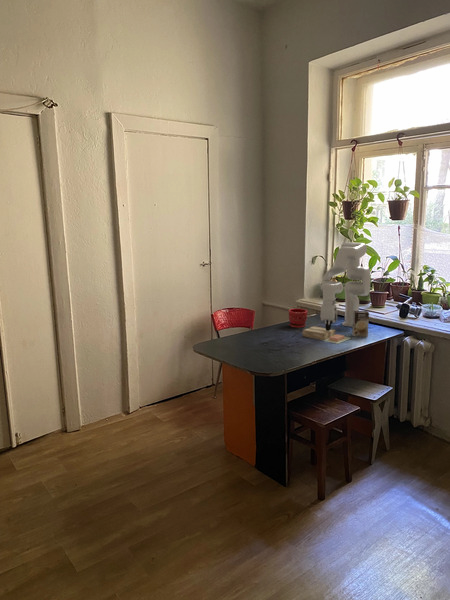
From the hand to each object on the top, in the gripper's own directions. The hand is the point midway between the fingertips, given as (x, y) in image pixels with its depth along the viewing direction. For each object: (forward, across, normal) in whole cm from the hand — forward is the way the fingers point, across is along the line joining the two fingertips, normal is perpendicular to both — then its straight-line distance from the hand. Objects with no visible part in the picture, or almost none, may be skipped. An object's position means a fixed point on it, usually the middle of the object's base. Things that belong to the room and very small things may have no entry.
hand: (328, 330), depth 287 cm
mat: (+5, -7, 0) cm, 8 cm away
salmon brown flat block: (+3, -7, +1) cm, 8 cm away
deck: (+5, +7, 0) cm, 8 cm away
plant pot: (+5, +32, -12) cm, 34 cm away
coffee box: (+5, -13, -18) cm, 23 cm away
